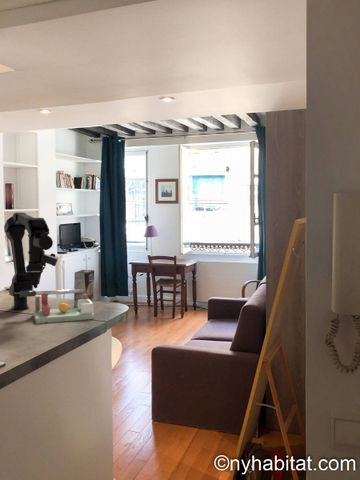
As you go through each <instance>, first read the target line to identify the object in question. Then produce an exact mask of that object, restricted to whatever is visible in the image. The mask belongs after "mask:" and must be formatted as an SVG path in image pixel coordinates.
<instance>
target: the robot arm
mask: <svg viewBox="0 0 360 480" xmlns="http://www.w3.org/2000/svg"><path fill="white" fill-rule="evenodd" d="M3 228H4V229H3V230H4V233H5V235H6V238H7V239H8V240H9V242H10V245H11V254H12V261H13V269H14V275H13V276H12V279H11V283H10V287H9V289H8V293H9V296H11V297H13V305H12V310H13V311H18V310H29V305H28V297H20V291H33V289H38V285H40V281H41V276H42V273H43V272H44V269H46V266H47V264H48V265H51V266H52V267H56V265H57V262H58V259H59V258H58V257H56V254H55V253H52V252H51V254H46V253H45V251H49V250H50V249H51V248H52V247H53V244H54V240H53V239H52V237H51V236H49V235H50V229H49V226H48V223H47V221H46V220H45V219H44V217H34V216H31V215H29V214H27V213H26V212H13V214H12V216H11V217H9V218H8V219H7V220H6V221H5V223H4V227H3ZM25 231H27V233H28V234H27V238H28V253H27V254H28V261H27V262H28V263H27V265H26V263H25V262H26V261H25V254H24V246H23V238H24V236H25V235H26V234H25V233H26V232H25Z"/></svg>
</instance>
